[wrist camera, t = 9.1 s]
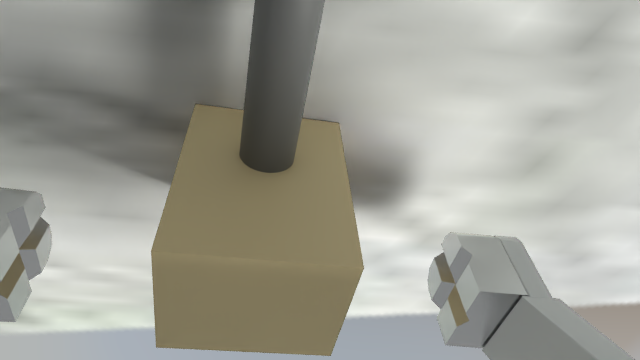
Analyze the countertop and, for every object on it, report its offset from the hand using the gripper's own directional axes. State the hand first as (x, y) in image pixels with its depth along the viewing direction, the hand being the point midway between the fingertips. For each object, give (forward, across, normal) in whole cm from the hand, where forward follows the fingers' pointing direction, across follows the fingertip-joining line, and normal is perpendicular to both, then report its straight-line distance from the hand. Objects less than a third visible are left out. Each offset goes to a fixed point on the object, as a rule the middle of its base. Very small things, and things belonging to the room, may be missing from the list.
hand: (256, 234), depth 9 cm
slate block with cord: (+2, 0, -6) cm, 7 cm away
